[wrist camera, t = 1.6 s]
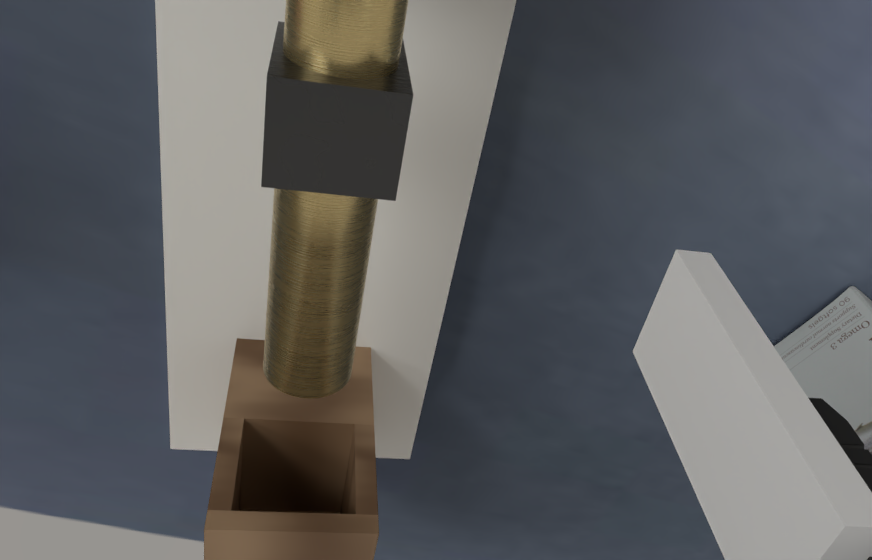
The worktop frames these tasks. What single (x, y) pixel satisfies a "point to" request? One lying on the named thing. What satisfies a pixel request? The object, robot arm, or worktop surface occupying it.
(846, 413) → the supplement box
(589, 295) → the worktop surface
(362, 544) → the walnut socket
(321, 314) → the brass rod
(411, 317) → the base board
